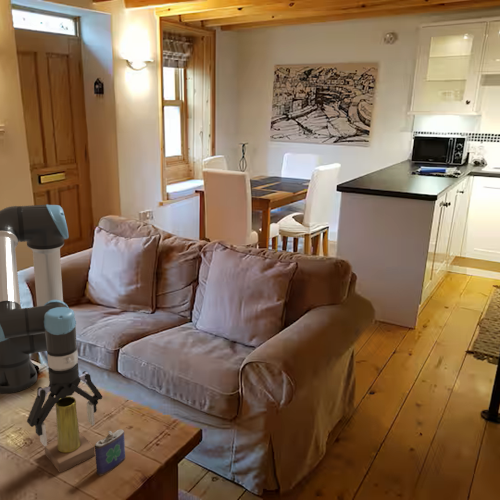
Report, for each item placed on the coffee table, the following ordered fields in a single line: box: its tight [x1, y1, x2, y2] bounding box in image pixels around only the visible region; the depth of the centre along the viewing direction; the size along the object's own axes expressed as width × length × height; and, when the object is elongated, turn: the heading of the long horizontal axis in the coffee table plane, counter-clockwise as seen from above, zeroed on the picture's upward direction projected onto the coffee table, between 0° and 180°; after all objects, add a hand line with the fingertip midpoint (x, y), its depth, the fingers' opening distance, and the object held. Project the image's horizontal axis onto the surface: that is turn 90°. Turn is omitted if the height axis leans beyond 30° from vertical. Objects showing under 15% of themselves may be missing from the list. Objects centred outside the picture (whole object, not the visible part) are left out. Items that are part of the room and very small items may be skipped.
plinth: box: [43, 430, 96, 473], centre depth 134 cm, size 10×10×3 cm
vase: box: [55, 395, 80, 453], centre depth 132 cm, size 6×6×14 cm
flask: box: [94, 429, 126, 476], centre depth 130 cm, size 9×3×11 cm, turn 144°
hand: (68, 433), depth 133 cm, fingers open, 13 cm apart
